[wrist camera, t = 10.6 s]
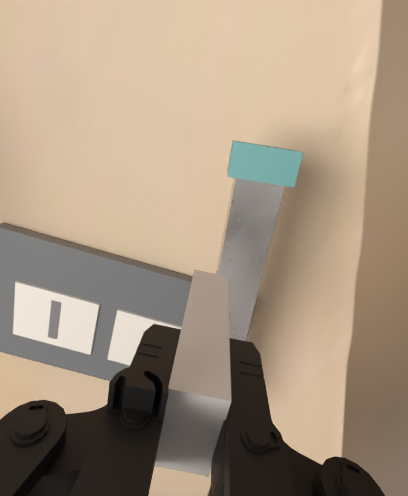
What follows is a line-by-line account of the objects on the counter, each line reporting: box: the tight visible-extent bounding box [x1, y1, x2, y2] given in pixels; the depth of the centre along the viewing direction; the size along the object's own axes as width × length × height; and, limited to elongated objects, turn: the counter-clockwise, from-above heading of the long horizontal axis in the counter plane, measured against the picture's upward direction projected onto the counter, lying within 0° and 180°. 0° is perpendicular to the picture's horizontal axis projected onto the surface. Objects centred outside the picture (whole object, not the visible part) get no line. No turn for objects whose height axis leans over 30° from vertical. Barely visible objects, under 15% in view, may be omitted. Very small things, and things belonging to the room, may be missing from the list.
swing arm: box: [216, 141, 303, 341], centre depth 23 cm, size 26×4×3 cm, turn 171°
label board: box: [0, 223, 193, 381], centre depth 30 cm, size 16×27×6 cm, turn 74°
